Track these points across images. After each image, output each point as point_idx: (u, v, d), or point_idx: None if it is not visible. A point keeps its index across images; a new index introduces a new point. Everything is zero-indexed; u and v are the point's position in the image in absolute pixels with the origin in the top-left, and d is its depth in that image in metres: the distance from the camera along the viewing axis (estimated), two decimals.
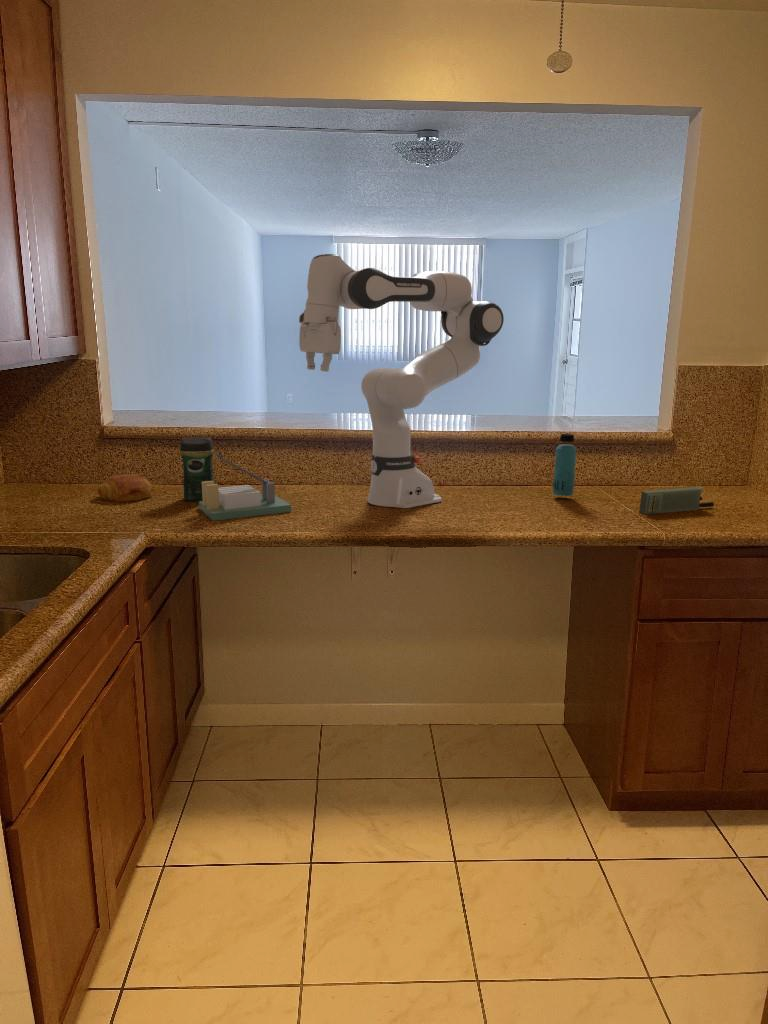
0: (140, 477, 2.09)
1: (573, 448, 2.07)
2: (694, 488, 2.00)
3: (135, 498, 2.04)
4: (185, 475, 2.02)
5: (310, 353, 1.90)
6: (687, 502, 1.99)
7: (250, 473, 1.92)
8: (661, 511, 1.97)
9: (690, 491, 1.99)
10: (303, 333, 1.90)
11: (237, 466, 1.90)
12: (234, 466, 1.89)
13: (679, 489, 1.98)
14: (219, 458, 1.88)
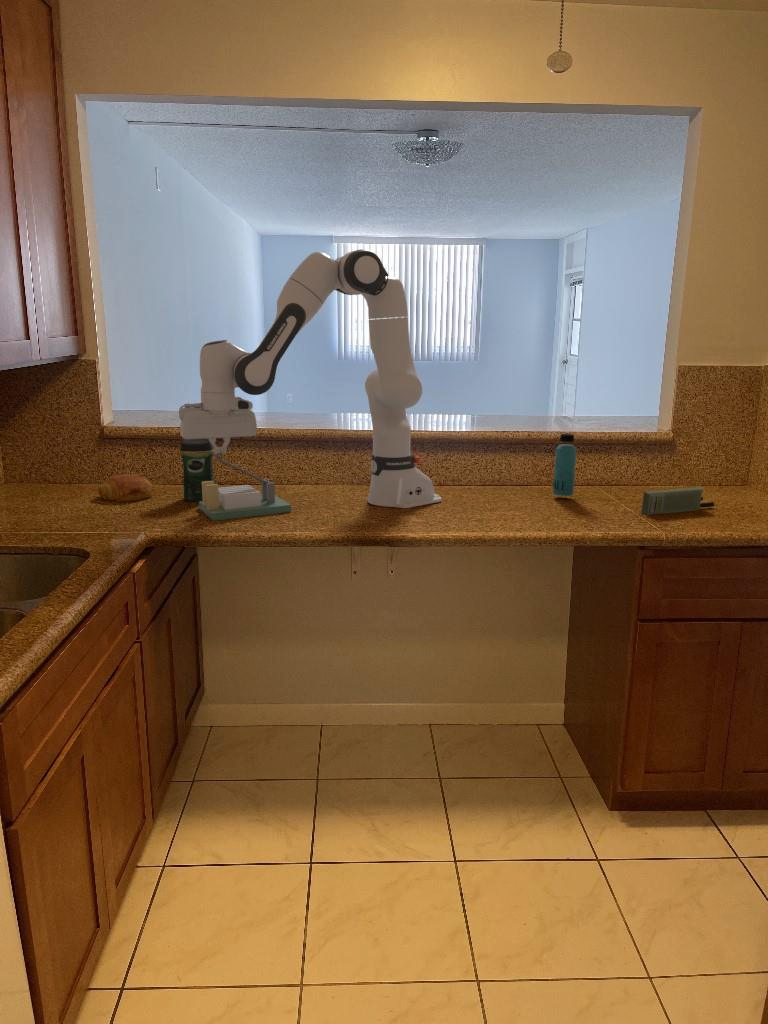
0: (140, 477, 2.09)
1: (573, 448, 2.07)
2: (695, 488, 2.00)
3: (135, 498, 2.04)
4: (185, 475, 2.02)
5: (223, 437, 1.88)
6: (688, 502, 1.99)
7: (250, 474, 1.92)
8: (663, 512, 1.97)
9: (691, 491, 1.98)
10: None
11: (236, 467, 1.90)
12: (233, 467, 1.89)
13: (680, 489, 1.98)
14: (218, 459, 1.88)
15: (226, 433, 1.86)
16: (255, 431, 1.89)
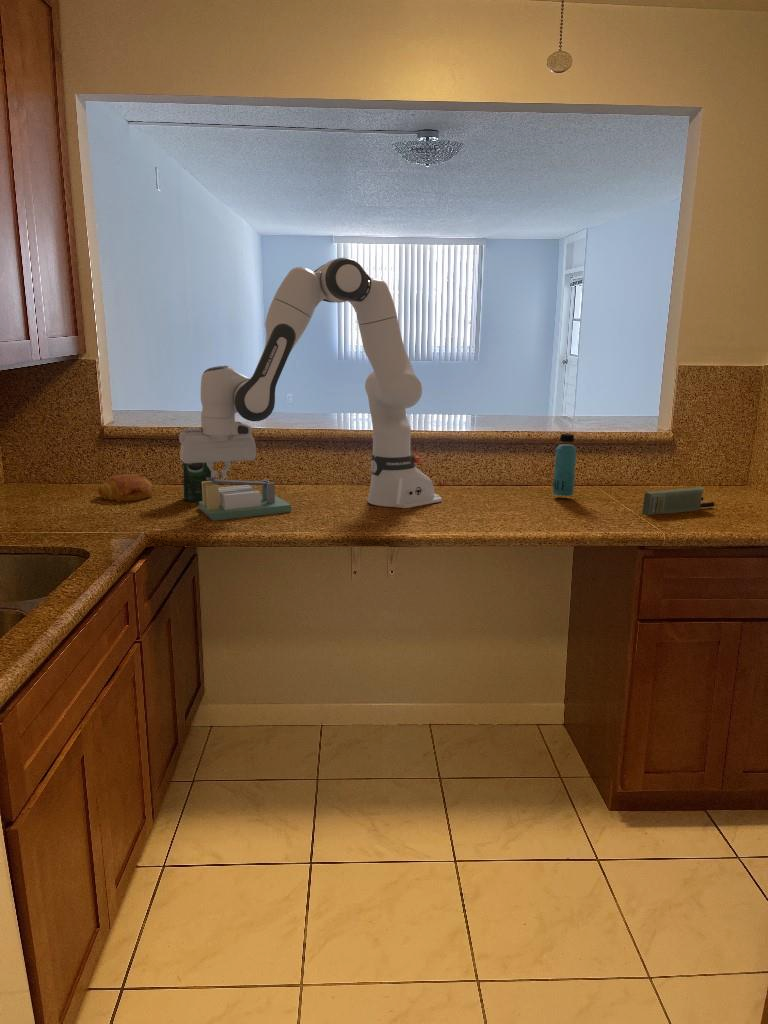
0: (141, 477, 2.09)
1: (573, 448, 2.07)
2: (696, 488, 1.99)
3: (135, 498, 2.04)
4: (185, 475, 2.02)
5: (224, 461, 1.89)
6: (689, 503, 1.99)
7: (247, 482, 1.92)
8: (664, 512, 1.96)
9: (692, 491, 1.98)
10: None
11: (232, 482, 1.90)
12: (229, 483, 1.90)
13: (681, 489, 1.98)
14: (212, 482, 1.88)
15: (225, 457, 1.87)
16: (254, 455, 1.91)
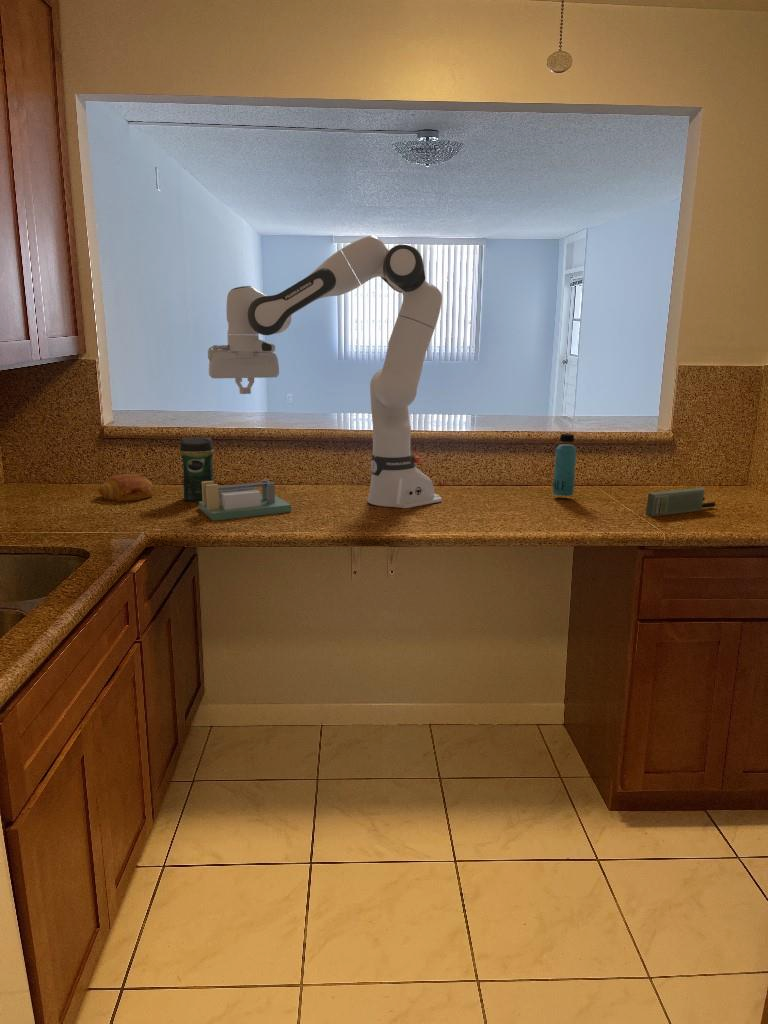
0: (141, 477, 2.09)
1: (573, 448, 2.07)
2: (697, 489, 1.99)
3: (136, 498, 2.04)
4: (185, 475, 2.02)
5: (248, 378, 2.03)
6: (691, 503, 1.98)
7: (247, 485, 1.92)
8: (667, 513, 1.96)
9: (694, 492, 1.98)
10: None
11: (232, 487, 1.90)
12: (229, 488, 1.90)
13: (683, 490, 1.97)
14: None
15: (251, 374, 2.01)
16: (277, 372, 2.04)
